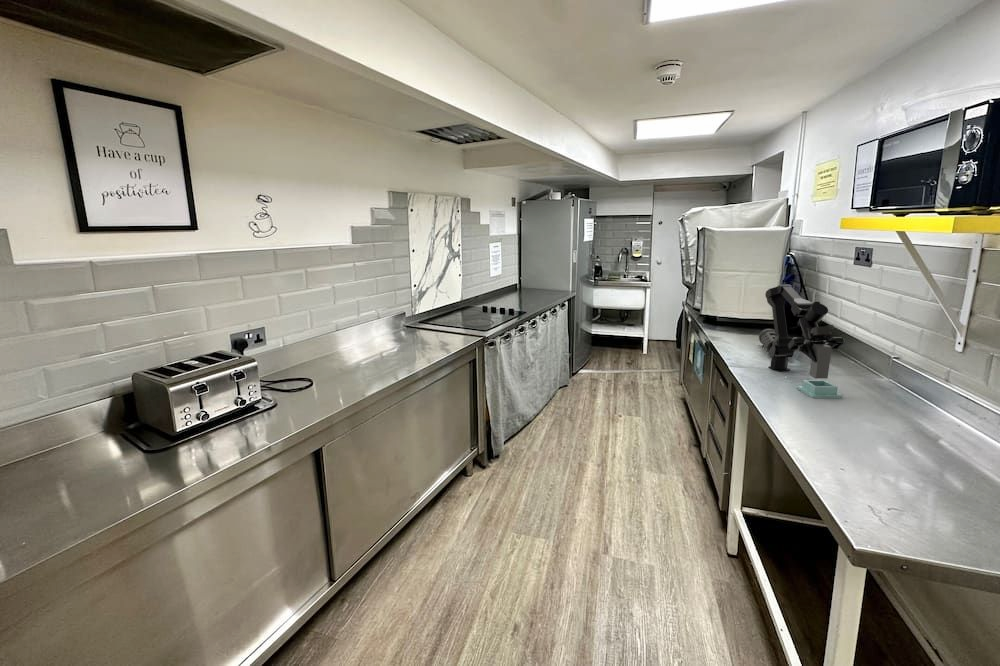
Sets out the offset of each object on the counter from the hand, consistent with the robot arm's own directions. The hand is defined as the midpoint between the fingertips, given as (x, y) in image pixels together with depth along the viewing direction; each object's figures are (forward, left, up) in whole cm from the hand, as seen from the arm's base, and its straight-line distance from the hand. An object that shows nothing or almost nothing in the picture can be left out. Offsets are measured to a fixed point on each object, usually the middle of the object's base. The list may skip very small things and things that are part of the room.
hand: (822, 361), depth 177 cm
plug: (0, -1, -7) cm, 7 cm away
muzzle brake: (-32, -56, -14) cm, 66 cm away
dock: (-1, -1, -13) cm, 14 cm away
